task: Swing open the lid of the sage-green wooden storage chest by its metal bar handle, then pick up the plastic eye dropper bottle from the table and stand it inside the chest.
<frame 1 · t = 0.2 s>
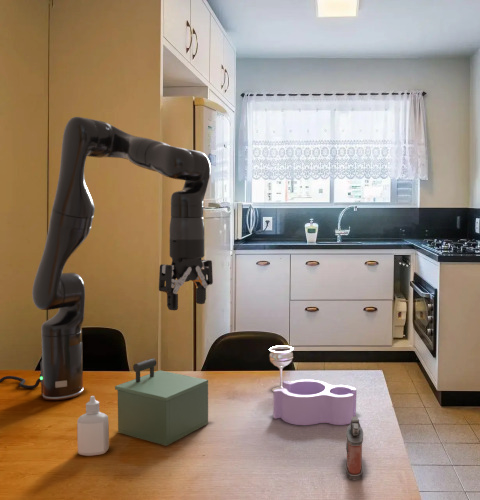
hand: (187, 306, 114), 29 cm above the table, tool pointing down, fingers open, 8 cm apart
lighter: (354, 469, 99), on the table
eye dropper bottle: (93, 453, 103), on the table
lid: (162, 375, 114), point 13 cm above the table, hinge at 0.0°
chest: (164, 427, 115), on the table
clip: (315, 416, 124), on the table
wineglass: (280, 390, 141), on the table
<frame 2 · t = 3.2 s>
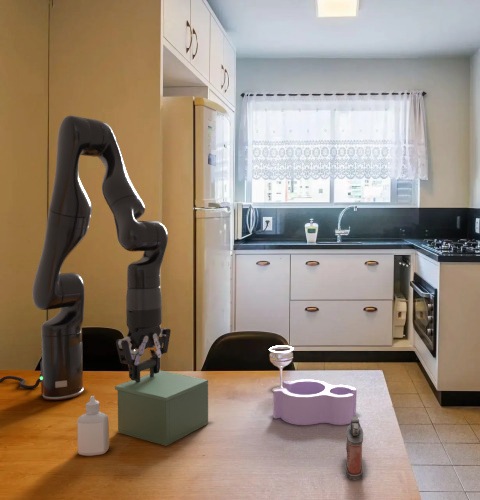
hand: (145, 376, 116), 12 cm above the table, tool pointing down, fingers closed on lid, 5 cm apart
lid: (162, 375, 114), point 13 cm above the table, hinge at 0.0°, touching gripper
everything else where it was.
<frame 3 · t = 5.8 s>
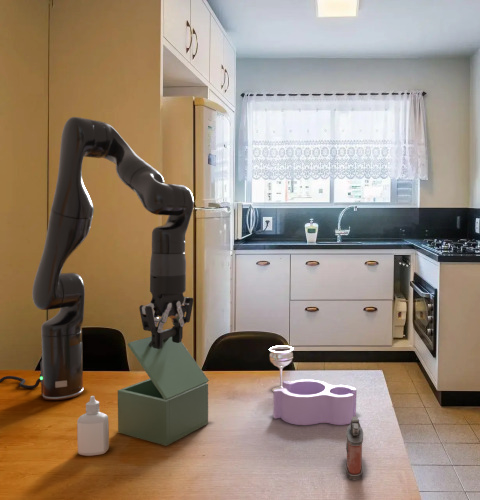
hand: (167, 344, 113), 20 cm above the table, tool pointing down, fingers closed on lid, 5 cm apart
lid: (174, 357, 112), point 17 cm above the table, hinge at 44.0°, touching gripper
everything else where it was.
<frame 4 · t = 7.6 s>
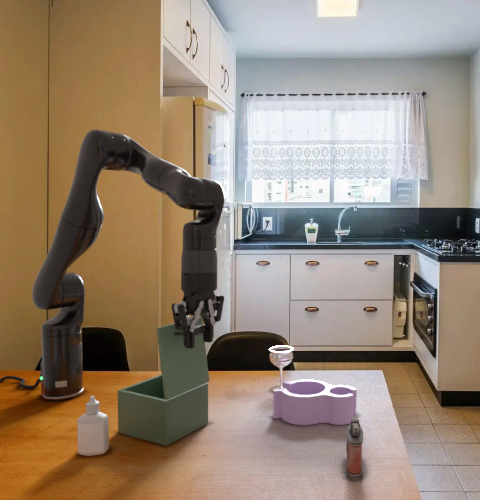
hand: (198, 344, 109), 21 cm above the table, tool pointing down, fingers closed on lid, 5 cm apart
lid: (191, 356, 110), point 18 cm above the table, hinge at 81.5°, touching gripper
everything else where it was.
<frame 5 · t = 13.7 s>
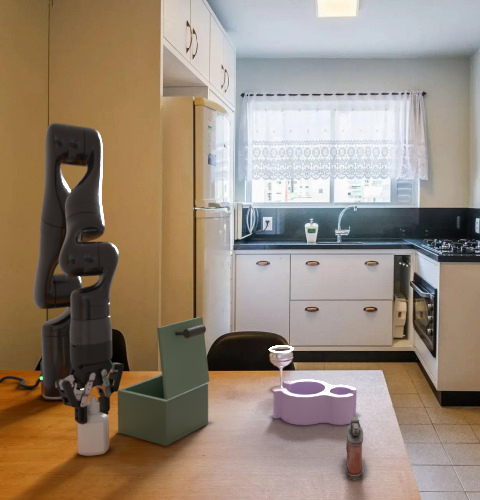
hand: (92, 418, 102), 7 cm above the table, tool pointing down, fingers closed on eye dropper bottle, 4 cm apart
eye dropper bottle: (93, 453, 103), on the table, touching gripper
lid: (191, 356, 110), point 18 cm above the table, hinge at 82.2°
everything else where it was.
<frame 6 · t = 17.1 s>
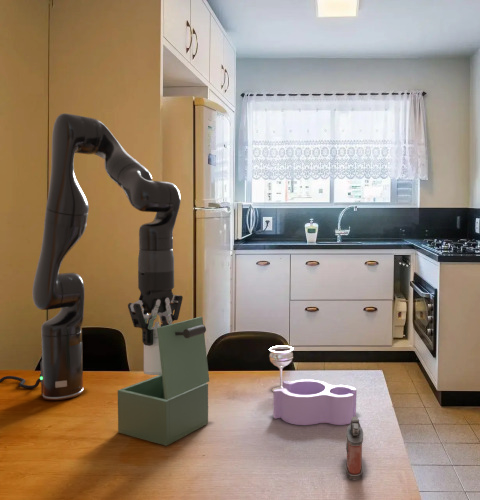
hand: (156, 342, 113), 20 cm above the table, tool pointing down, fingers closed on eye dropper bottle, 4 cm apart
eye dropper bottle: (157, 373, 114), point 13 cm above the table, touching gripper
everything else where it was.
when the fingers open (8 cm above the table, at t = 20.8 s): eye dropper bottle stays where it is, resting on chest.
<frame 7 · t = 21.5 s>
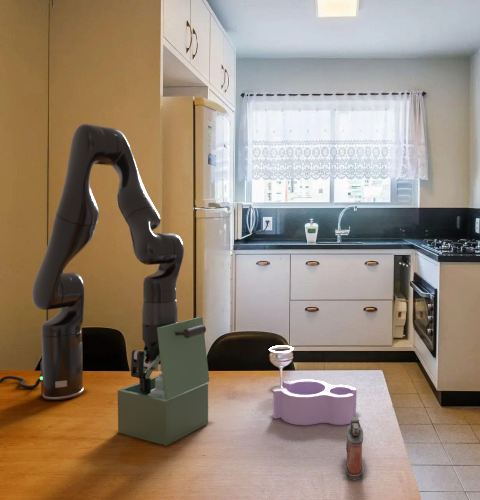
hand: (160, 387, 115), 9 cm above the table, tool pointing down, fingers open, 8 cm apart
eye dropper bottle: (161, 424, 115), point 1 cm above the table, touching chest
everything else where it was.
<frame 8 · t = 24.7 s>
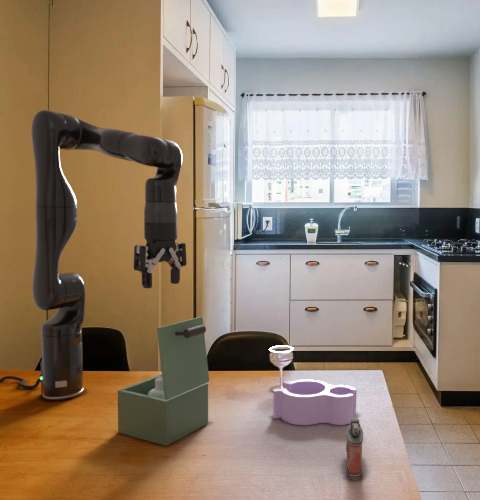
hand: (161, 285, 122), 32 cm above the table, tool pointing down, fingers open, 8 cm apart
nothing on the table moved.
at the end: lid at +82° (first picture: +0°); eye dropper bottle inside the target area in the chest (1.0 cm from its centre), point 0.7 cm above the chest's base; the gripper is holding nothing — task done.
